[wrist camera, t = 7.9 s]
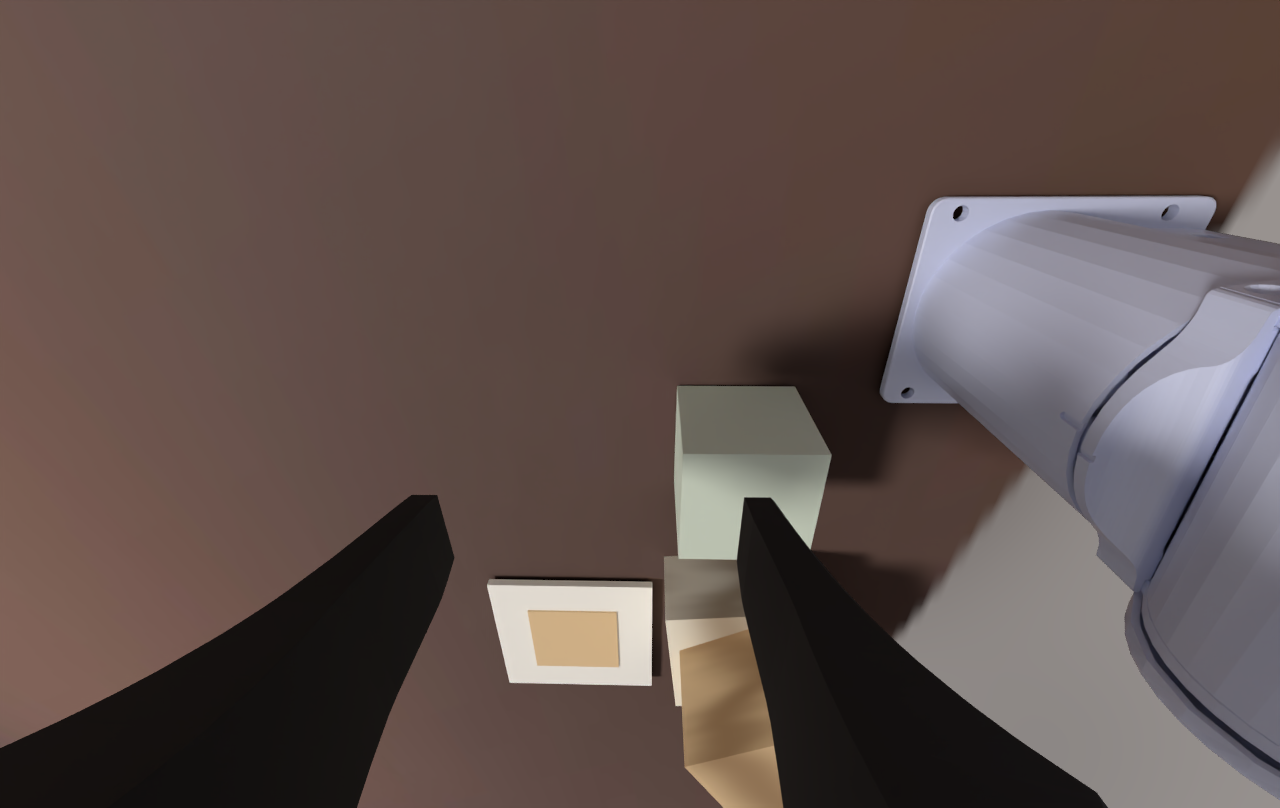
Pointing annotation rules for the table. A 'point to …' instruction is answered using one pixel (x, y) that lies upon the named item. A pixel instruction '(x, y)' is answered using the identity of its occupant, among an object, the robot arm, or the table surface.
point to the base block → (700, 606)
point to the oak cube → (728, 723)
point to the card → (574, 630)
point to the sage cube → (743, 463)
